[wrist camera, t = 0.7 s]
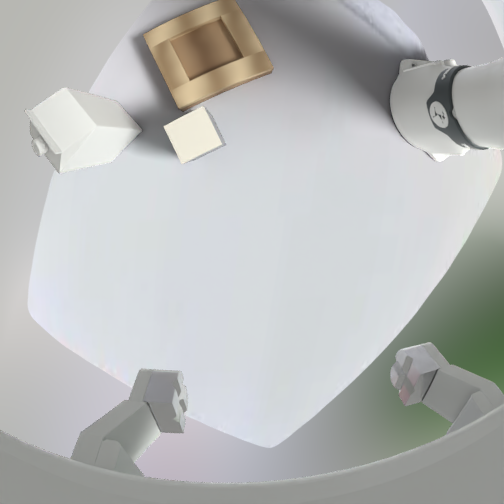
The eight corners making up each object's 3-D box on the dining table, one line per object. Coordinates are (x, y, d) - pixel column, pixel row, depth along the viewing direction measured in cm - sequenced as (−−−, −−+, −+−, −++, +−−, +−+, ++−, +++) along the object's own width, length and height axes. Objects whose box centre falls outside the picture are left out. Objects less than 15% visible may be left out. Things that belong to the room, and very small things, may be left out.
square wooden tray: (232, 4, 30) (232, -5, 27) (271, 73, 35) (273, 67, 32) (148, 41, 32) (142, 34, 29) (183, 111, 37) (178, 109, 34)
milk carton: (116, 100, 35) (44, 81, 18) (143, 130, 37) (77, 124, 20) (87, 133, 37) (8, 136, 19) (112, 162, 39) (38, 180, 21)
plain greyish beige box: (211, 115, 37) (203, 105, 28) (226, 144, 39) (221, 144, 30) (181, 130, 38) (163, 126, 29) (195, 159, 40) (181, 164, 30)
